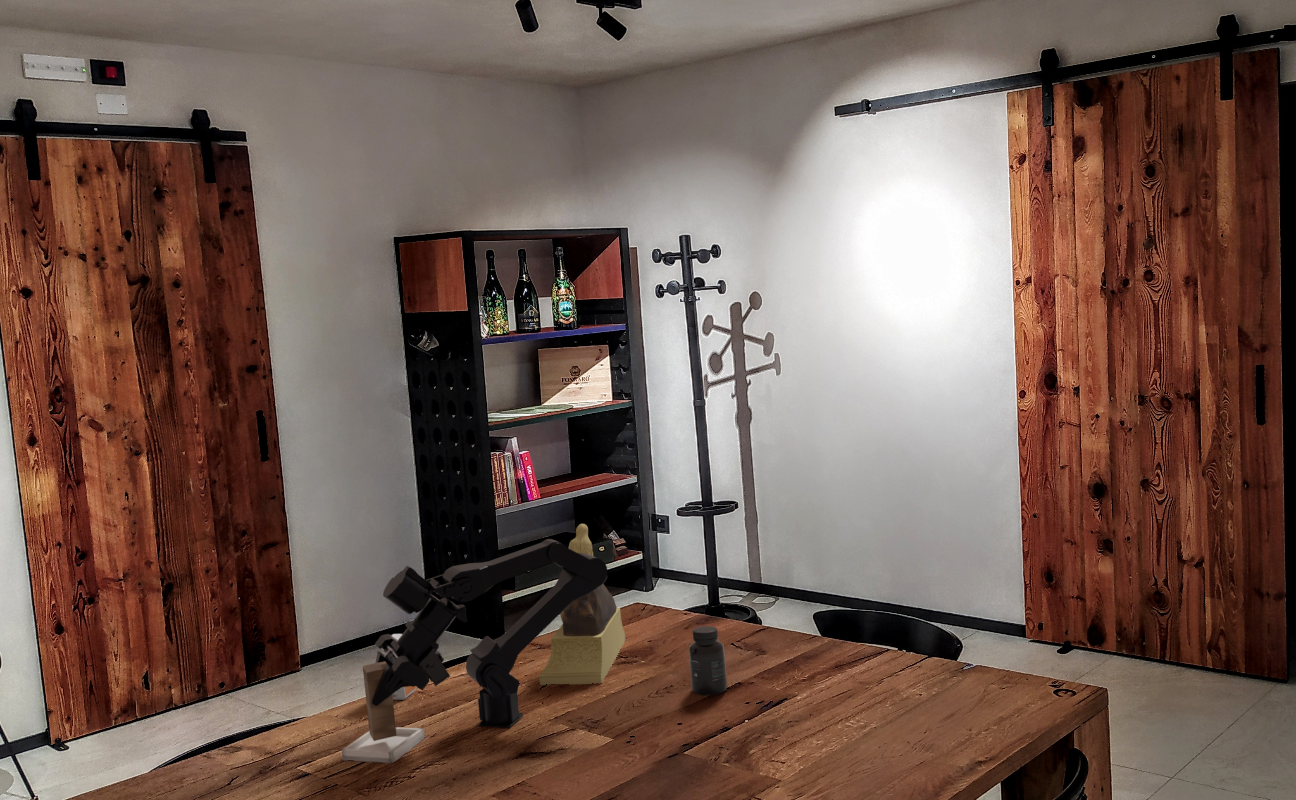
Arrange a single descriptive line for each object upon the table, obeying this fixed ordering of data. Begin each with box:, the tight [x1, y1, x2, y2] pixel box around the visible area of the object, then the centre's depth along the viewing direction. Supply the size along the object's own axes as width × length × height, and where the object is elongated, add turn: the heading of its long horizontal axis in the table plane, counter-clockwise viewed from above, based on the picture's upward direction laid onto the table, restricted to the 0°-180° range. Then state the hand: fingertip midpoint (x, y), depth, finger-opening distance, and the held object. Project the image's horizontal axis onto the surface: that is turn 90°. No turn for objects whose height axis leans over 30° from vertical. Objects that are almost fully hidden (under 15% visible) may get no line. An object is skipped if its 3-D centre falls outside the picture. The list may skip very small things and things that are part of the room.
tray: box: [341, 726, 425, 764], centre depth 194 cm, size 10×11×2 cm
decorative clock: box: [538, 523, 626, 686], centre depth 234 cm, size 28×13×30 cm, turn 171°
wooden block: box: [362, 661, 397, 741], centre depth 193 cm, size 4×4×12 cm
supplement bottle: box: [688, 625, 728, 697], centre depth 211 cm, size 7×7×12 cm
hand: (371, 700), depth 193 cm, fingers closed on wooden block, 4 cm apart
